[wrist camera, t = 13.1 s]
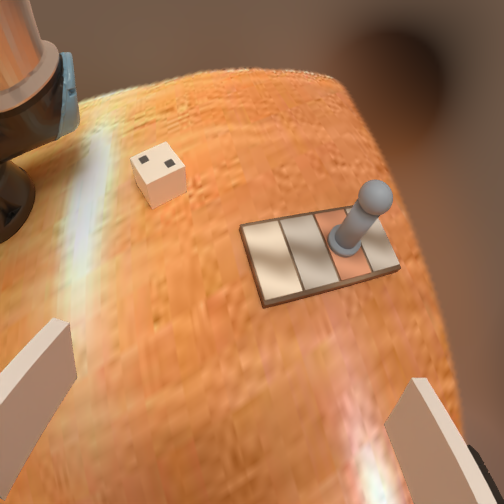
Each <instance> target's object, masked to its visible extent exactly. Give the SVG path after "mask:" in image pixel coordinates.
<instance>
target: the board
mask: <svg viewBox="0 0 504 504" xmlns="http://www.w3.org/2000/svg"><path fill="white" fill-rule="evenodd" d="M353 206H354V205H352V206H346V207H340V208H334V209H327V210H321V211H315V212H309V213H303V214H297V215H292V216H286V217H280V218H274V219H269V220H263V221H257V222H252V223H246V224H241V225H240V228H239V231H240V234H241V237H242V241H243V244H244V247H245V251H246V254H247V257H248V260H249V264H250V267H251V270H252V274H253V277H254V280H255V284H256V287H257V290H258V293H259V297H260V300H261V303H262V307H263V309H264V308H268V307H272V306H276V305H280V304H284V303H288V302H291V301H295V300H299V299H303V298H307V297H311V296H314V295H318V294H322V293H325V292H329V291H333V290H336V289H340V288H343V287H347V286H350V285H354V284H357V283H361V282H364V281H368V280H371V279H374V278H378V277H381V276H384V275H388V274H391V273H394V272H397V271H398V270H399V269H401V266H400V264H399V261H398V259H397V257H396V255H395V252H394V250H393V248H392V246H391V244H390V242H389V239H388V237H387V235H386V233H385V231H384V229H383V227H382V225H381V223H380V221H379V219H378V218H377V220H376V221H375V222H374V224H373V225H372V226H371V227H370V229H369V230H368V231H367V232H366V233H365V235H364V236H363V237H362V238H361V246H360V248H359V250H358V251H357V252H356V253H355V254H354V255H353V256H351V257H347V258H344V257H340V256H338V255H336V254H335V253H333V252H332V250H331V249H330V247H329V245H328V241H327V239H328V235H329V233H330V231H331V230H332V228H333V227H334V226H336V225H339V224H342V222H343V221H344V219H345V218H346V216H347V215H348V213H349V212H350V210H351V209H352V207H353Z"/></svg>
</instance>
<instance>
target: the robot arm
mask: <svg viewBox="0 0 504 504" xmlns="http://www.w3.org/2000/svg"><path fill="white" fill-rule="evenodd" d="M75 86H76V85H75V76H74V67H73V58H72V54H71V53H70V52H66V53H64V52H62V53H60V54H59V52H58V50H57V48H56V46H55V45H54V44H53V43H51V42H49V41H45V40H41V38H40V35H39V32H38V29H37V26H36V22H35V19H34V15H33V12H32V8H31V5H30V1H29V0H0V243H2V242H4V241H5V240H7V239H8V238H10V237H11V236H12V235H13V234H14V233H15V232H16V231H17V230H18V229H19V228H20V227H21V226H22V225H23V223H24V222H25V220H26V219H27V217H28V215H29V213H30V211H31V209H32V206H33V203H34V198H35V187H34V184H33V182H32V180H31V178H30V177H29V175H28V174H27V172H26V171H25V170H23V169H22V168H20V167H18V166H17V165H15V164H14V163H13V162H11V161H10V160H11V159H13V158H15V157H17V156H19V155H22V154H24V153H26V152H28V151H31V150H33V149H35V148H37V147H40V146H42V145H45V144H47V143H50V142H52V141H56V140H58V139H59V138H60V137H62V136H64V135H66V134H68V133H70V132H73V131H74V130H75V129H76V128H77V127H78V125H79V123H80V115H79V107H78V100H77V94H76V87H75ZM76 379H77V373H76V367H75V361H74V354H73V347H72V339H71V331H70V323H69V322H66V321H62V320H59V319H56V318H52V319H51V320H50V321H49V322H48V323H47V324H46V325H45V326H44V327H43V328H42V329H41V330H40V331H39V332H38V333H37V334H36V335H35V336H34V337H33V339H32V340H31V341H30V342H29V343H28V344H27V345H26V346H25V347H24V348H23V349H22V350H21V351H20V352H19V353H18V354H17V355H16V356H15V358H14V359H13V360H12V361H11V362H10V363H9V364H8V365H7V366H6V367H5V369H4V370H3V371H2V372H1V373H0V498H1V499H3V500H4V501H5V499H6V497H7V495H8V493H9V492H10V490H11V488H12V486H13V484H14V482H15V480H16V478H17V477H18V475H19V473H20V471H21V469H22V468H23V466H24V464H25V462H26V460H27V459H28V457H29V455H30V453H31V452H32V450H33V448H34V446H35V445H36V443H37V441H38V440H39V438H40V436H41V435H42V433H43V431H44V430H45V428H46V426H47V425H48V423H49V421H50V420H51V418H52V417H53V415H54V413H55V412H56V410H57V408H58V407H59V405H60V404H61V402H62V401H63V399H64V397H65V396H66V394H67V393H68V391H69V390H70V388H71V387H72V385H73V383H74V382H75V380H76ZM384 426H385V428H386V431H387V433H388V436H389V439H390V441H391V444H392V446H393V449H394V451H395V454H396V457H397V459H398V462H399V465H400V467H401V470H402V473H403V475H404V478H405V481H406V484H407V486H408V489H409V492H410V495H411V497H412V500H413V503H414V504H504V500H503V498H502V496H501V494H500V492H499V490H498V488H497V486H496V484H495V482H494V481H493V479H492V477H491V475H490V473H488V469H487V468H486V466H485V465H484V462H483V461H482V459H481V457H480V455H479V453H478V452H477V451H476V450H475V449H474V448H473V447H471V446H470V445H466V444H465V442H464V440H463V438H462V437H461V435H460V433H459V431H458V430H457V428H456V426H455V425H454V423H453V421H452V419H451V418H450V416H449V414H448V413H447V411H446V409H445V408H444V406H443V404H442V403H441V401H440V400H439V398H438V396H437V395H436V393H435V392H434V390H433V388H432V387H431V385H430V384H429V382H428V380H427V379H426V378H411V380H410V381H409V383H408V385H407V387H406V389H405V390H404V392H403V394H402V396H401V397H400V399H399V401H398V402H397V404H396V406H395V407H394V409H393V411H392V412H391V414H390V415H389V417H388V419H387V420H386V422H385V423H384Z"/></svg>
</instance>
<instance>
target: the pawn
mask: <svg viewBox="0 0 504 504" xmlns="http://www.w3.org/2000/svg"><path fill="white" fill-rule="evenodd" d="M392 202H393V194H392V191H391V189H390V187H389V186H388V185H387V184H386V183H384V182H383V181H380V180H370V181H368V182H366V183H365V184H364V185H363V186H362V187H361V189H360V191H359V195H358V199H357V201H356V202H355V204H354V206H353V207H352V209H351V210H350V212H349V213H348V215H347V216H346V218H345V219H344V221H343V222H342V224H339V225H336V226H334V227H333V228H332V230H331V231H330V233H329V235H328V239H327V241H328V245H329V247H330V249H331V250H332V252H333V253H335V254H336V255H338V256H340V257H344V258H347V257H351V256H353V255H354V254H355V253H356V252H357V251H358V250H359V248H360V246H361V238H362V237H363V236H364V235H365V233H366V232H367V231H368V230H369V229H370V227H371V226H372V225H373V224H374V222H375V221H376V220H377V218H378V217H379V216H380V215H382V214H384V213H385V212H387V211H388V210H389V209H390V207H391V205H392Z"/></svg>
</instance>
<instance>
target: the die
mask: <svg viewBox="0 0 504 504" xmlns="http://www.w3.org/2000/svg"><path fill="white" fill-rule="evenodd" d="M130 161H131V165H132V169H133V173H134V177H135V180H136V184H137V185H138V187H139V189H140V190H141V192H142V194H143V195H144V197H145V198H146V200H147V202H148V203H149V205H150V207H151V208H152V209H154V208H156V207H158V206H160V205H162V204H164V203H166V202H168V201H170V200H172V199H174V198H176V197H178V196H180V195H182V194H184V193H186V192H187V186H186V172H185V165H184V164H183V163H182V161H181V160H180V159H179V157H178V156H177V155H176V154H175V152H174V151H173V150H172V148H171V147H170V146H169V144H168V143H167V142H163V143H161V144H159V145H157V146H154V147H152V148H150V149H148V150H146V151H143V152H141V153H139V154H137V155H135V156H133V157H131V158H130Z"/></svg>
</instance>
